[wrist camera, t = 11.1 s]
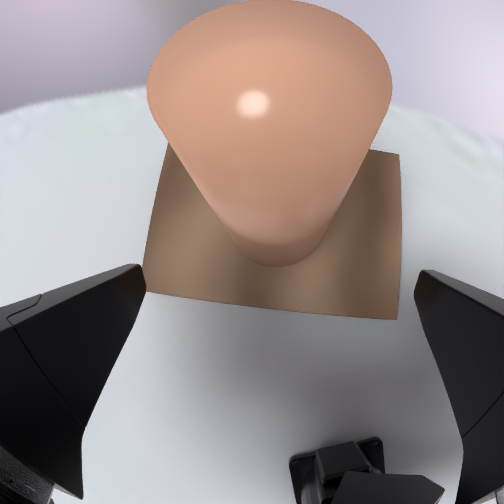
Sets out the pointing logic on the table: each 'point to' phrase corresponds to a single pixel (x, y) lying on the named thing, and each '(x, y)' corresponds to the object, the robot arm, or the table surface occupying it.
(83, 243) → the table surface
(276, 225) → the peach cylinder
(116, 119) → the table surface
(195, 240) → the shelf board
